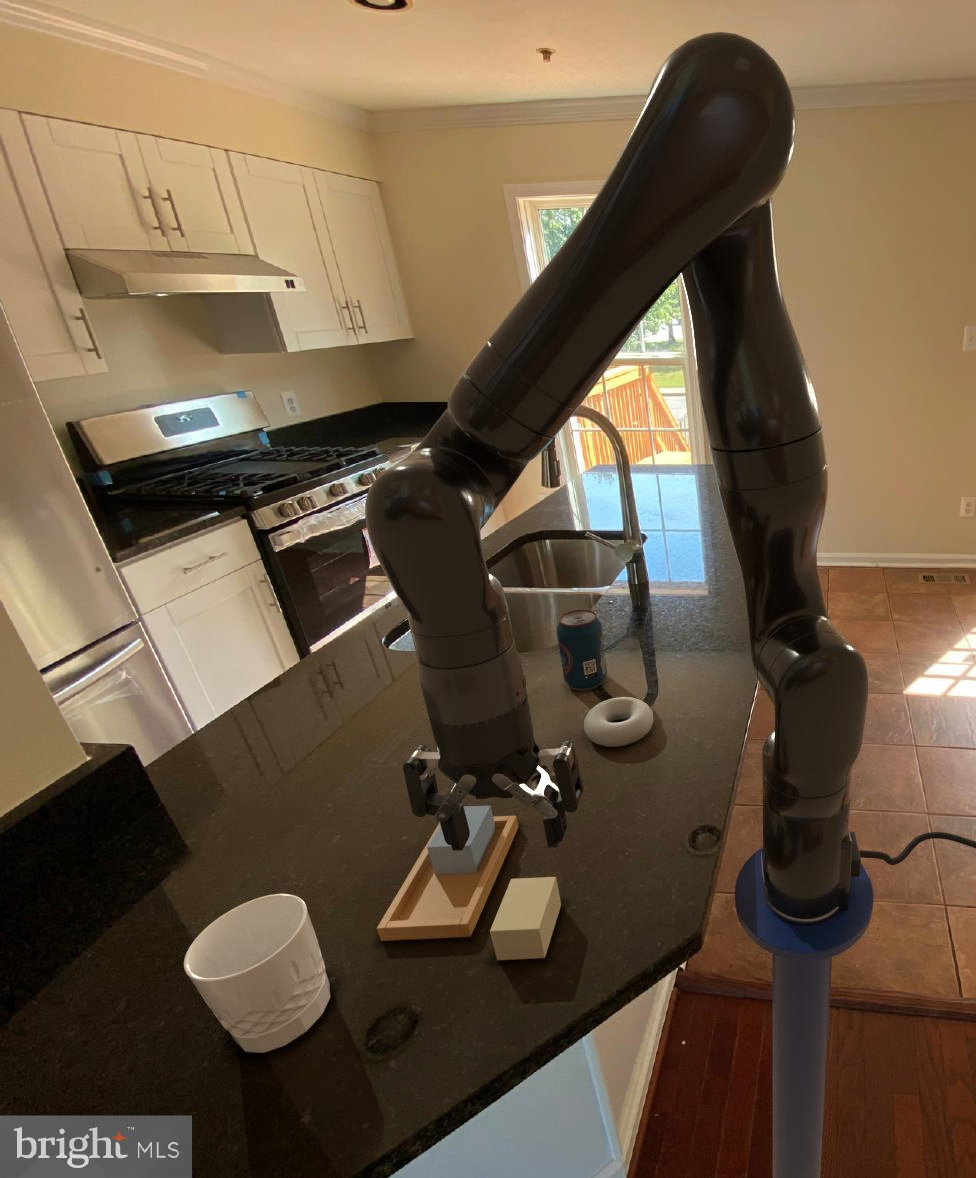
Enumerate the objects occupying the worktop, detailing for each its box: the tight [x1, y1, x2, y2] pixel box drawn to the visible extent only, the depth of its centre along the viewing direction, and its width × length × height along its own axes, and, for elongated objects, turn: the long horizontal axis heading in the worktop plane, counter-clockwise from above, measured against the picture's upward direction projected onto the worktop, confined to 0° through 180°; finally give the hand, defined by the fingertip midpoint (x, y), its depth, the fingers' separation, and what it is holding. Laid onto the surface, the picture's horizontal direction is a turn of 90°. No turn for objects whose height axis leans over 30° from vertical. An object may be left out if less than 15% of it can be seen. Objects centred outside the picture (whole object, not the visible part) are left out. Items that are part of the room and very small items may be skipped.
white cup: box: [183, 893, 331, 1054], centre depth 54 cm, size 8×8×10 cm
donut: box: [583, 696, 654, 748], centre depth 93 cm, size 10×4×10 cm
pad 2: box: [489, 876, 562, 961], centre depth 62 cm, size 4×6×4 cm
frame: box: [376, 815, 519, 942], centre depth 68 cm, size 9×15×2 cm, turn 3°
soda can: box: [556, 609, 608, 691], centre depth 103 cm, size 7×7×12 cm
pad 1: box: [427, 805, 497, 875], centre depth 71 cm, size 4×6×4 cm
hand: (509, 842), depth 59 cm, fingers open, 8 cm apart
